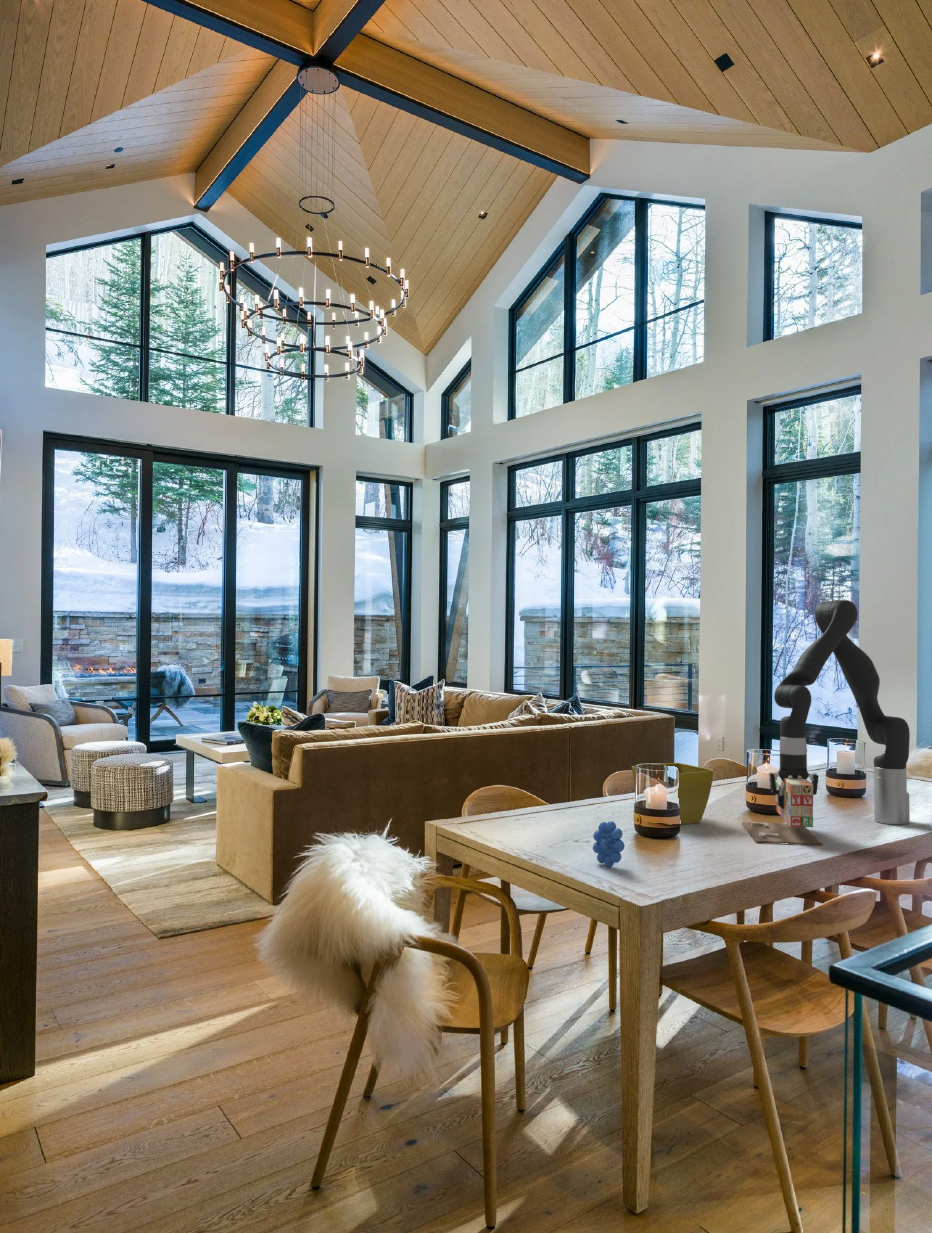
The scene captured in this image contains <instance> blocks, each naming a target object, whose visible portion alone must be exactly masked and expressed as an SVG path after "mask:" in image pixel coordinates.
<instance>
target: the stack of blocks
mask: <svg viewBox="0 0 932 1233" xmlns="http://www.w3.org/2000/svg"><path fill="white" fill-rule="evenodd" d="M775 783H776V790H778V789H779V787H780V785H781V783H782V785H784V783H785V789H784V794H783V796H784V809H781V808H780V807H779V806H778V795H777V794H775V811H776V812H777V813H778V815H780V816H781V817H782V818H783V820H785V821H786V824H789V825H790V826H791V827H806V828H814V807H813V806H814V795H813V784H811V781H810V780H808V779H794V778H792V779H787V778H784V781H782V780H779V781H777V780H775Z"/></svg>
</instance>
